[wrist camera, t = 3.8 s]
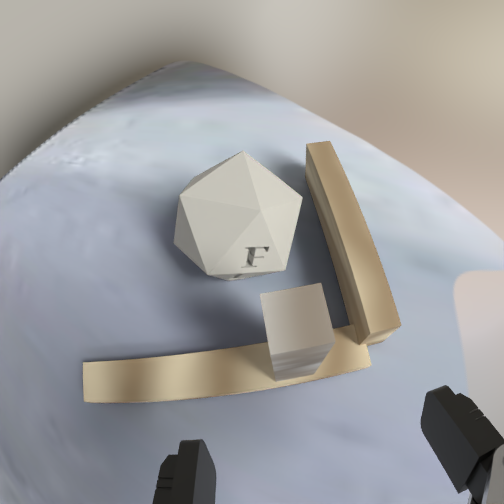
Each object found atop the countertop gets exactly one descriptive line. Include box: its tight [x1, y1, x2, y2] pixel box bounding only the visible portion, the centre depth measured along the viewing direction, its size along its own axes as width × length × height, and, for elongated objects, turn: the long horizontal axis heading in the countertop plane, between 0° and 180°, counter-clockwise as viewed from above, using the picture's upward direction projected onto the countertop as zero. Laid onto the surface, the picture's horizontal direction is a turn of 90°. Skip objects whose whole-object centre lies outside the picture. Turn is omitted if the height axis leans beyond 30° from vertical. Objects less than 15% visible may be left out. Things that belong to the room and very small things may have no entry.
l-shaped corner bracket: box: [83, 141, 401, 403], centre depth 19 cm, size 22×17×10 cm
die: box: [174, 151, 303, 281], centre depth 22 cm, size 8×9×10 cm
